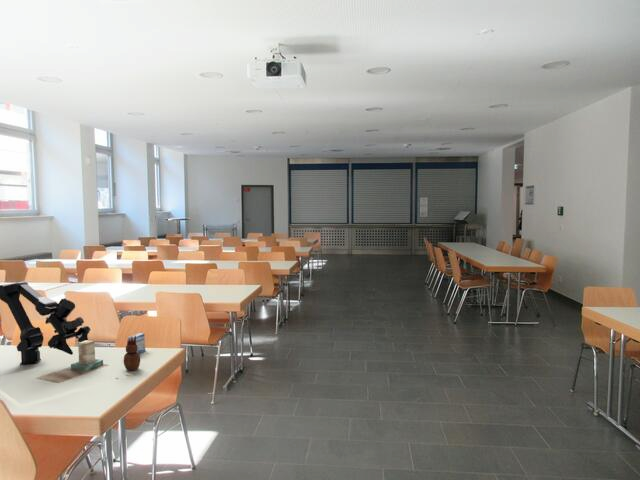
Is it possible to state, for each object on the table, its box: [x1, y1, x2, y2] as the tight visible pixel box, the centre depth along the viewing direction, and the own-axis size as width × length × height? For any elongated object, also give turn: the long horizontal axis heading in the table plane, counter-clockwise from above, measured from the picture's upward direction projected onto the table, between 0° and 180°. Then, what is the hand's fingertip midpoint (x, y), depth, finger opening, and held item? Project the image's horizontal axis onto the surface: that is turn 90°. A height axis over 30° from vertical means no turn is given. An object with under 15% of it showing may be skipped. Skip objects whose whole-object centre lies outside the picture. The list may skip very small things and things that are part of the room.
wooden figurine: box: [123, 334, 141, 372], centre depth 203 cm, size 7×6×15 cm
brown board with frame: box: [36, 358, 109, 384], centre depth 199 cm, size 24×14×3 cm, turn 154°
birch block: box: [77, 339, 96, 365], centre depth 204 cm, size 4×4×11 cm
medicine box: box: [127, 332, 146, 354], centre depth 228 cm, size 8×4×9 cm, turn 168°
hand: (80, 351), depth 205 cm, fingers open, 9 cm apart
